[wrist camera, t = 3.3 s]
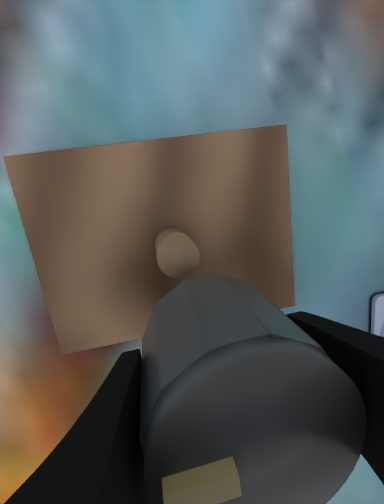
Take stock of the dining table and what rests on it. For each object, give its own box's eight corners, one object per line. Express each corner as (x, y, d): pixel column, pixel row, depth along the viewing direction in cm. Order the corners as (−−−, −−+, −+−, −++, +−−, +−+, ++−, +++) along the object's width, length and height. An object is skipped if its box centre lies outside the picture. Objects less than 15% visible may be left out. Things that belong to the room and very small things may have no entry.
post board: (278, 128, 16) (332, 100, 11) (287, 299, 19) (333, 334, 14) (12, 159, 14) (-57, 140, 9) (66, 346, 17) (34, 404, 12)
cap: (264, 263, 10) (386, 336, 5) (274, 373, 12) (378, 521, 6) (131, 291, 10) (114, 409, 4) (158, 405, 11) (169, 599, 6)
